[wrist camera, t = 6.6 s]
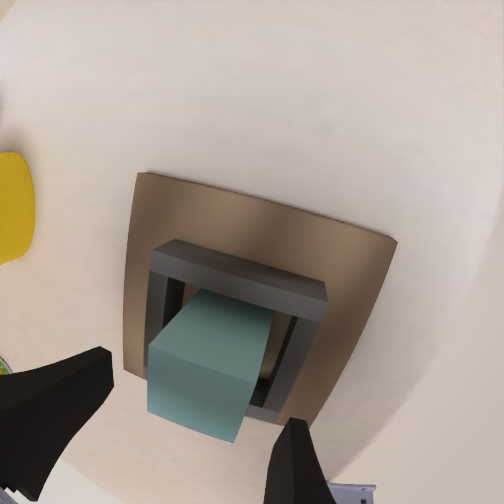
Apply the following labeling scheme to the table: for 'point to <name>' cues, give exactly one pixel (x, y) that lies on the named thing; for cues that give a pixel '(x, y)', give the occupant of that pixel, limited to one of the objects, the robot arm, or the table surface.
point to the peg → (208, 363)
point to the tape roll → (15, 207)
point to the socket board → (253, 283)
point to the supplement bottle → (4, 368)
